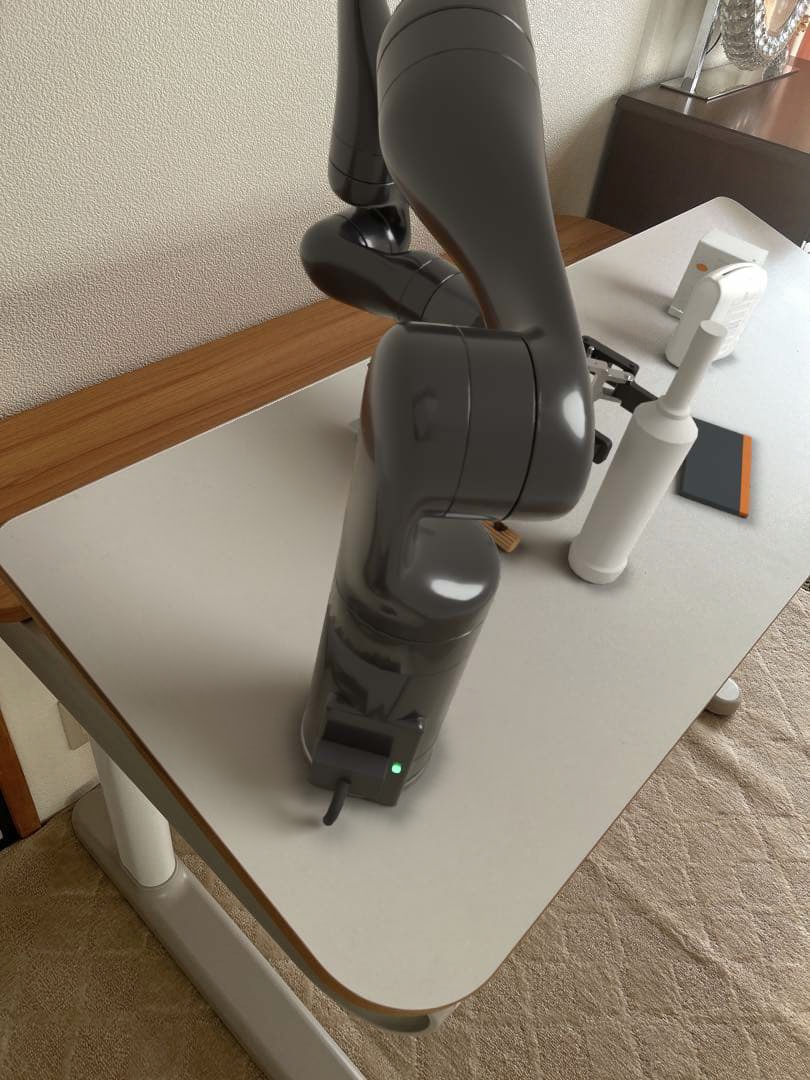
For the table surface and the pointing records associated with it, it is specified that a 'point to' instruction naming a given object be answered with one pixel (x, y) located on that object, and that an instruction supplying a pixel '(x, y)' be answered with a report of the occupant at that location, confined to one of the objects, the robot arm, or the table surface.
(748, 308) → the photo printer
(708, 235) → the small box
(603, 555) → the bottle
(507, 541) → the paintbrush
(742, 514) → the mat
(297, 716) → the table surface
